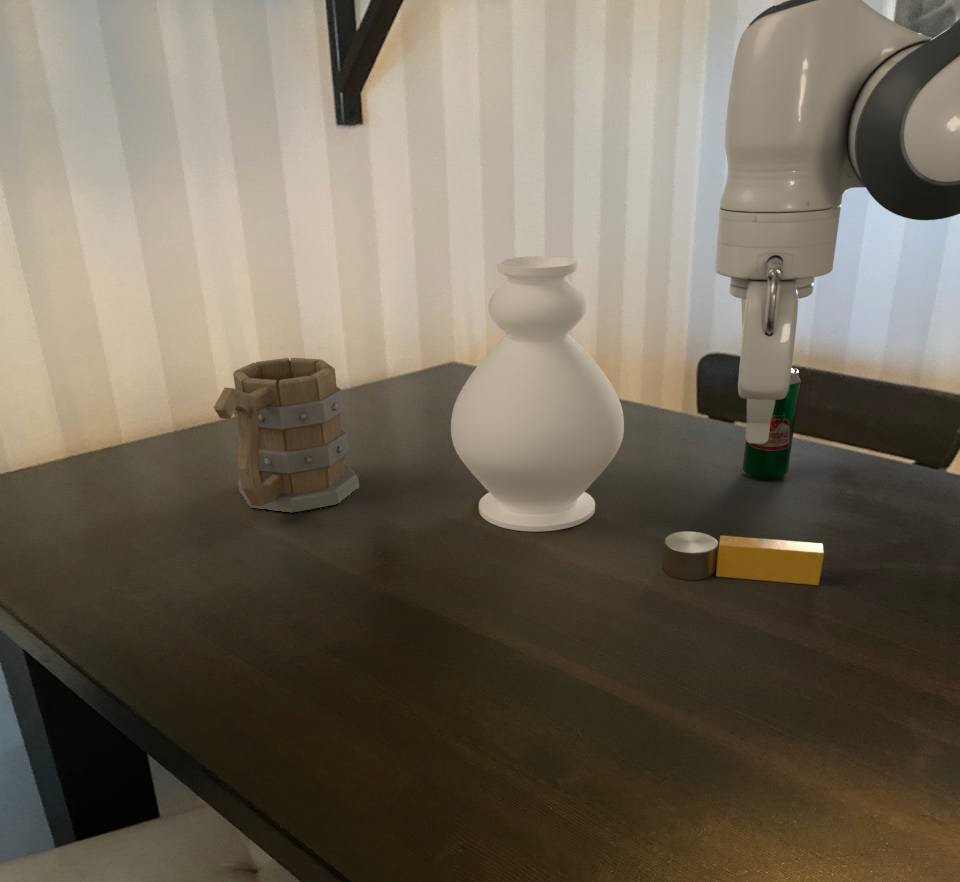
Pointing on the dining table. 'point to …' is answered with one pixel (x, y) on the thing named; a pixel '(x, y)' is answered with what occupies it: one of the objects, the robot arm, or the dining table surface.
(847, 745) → the dining table surface
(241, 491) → the tankard
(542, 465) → the decorative vase
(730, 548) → the silver puck with tab
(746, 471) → the soda can
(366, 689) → the dining table surface
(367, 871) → the dining table surface
